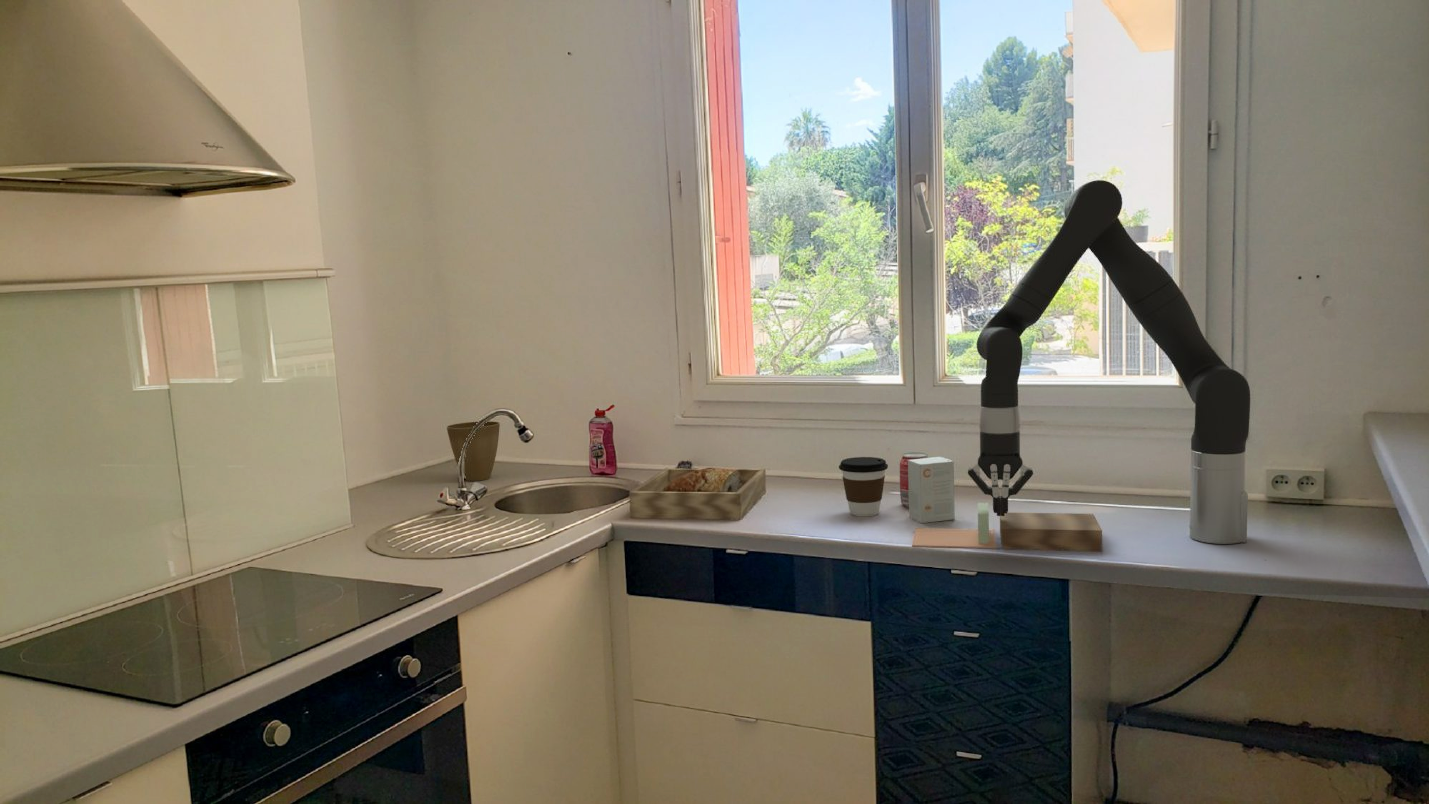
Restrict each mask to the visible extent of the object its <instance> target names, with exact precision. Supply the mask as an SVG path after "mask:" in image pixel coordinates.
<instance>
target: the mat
mask: <svg viewBox="0 0 1429 804" xmlns="http://www.w3.org/2000/svg"><path fill="white" fill-rule="evenodd" d="M912 539H913V540H912V544H911V547H912V548H913V547H914V548H915V547H916V548H948V549H949V548H951V549H952V548H953V549H955V548H957V549H994V550H995V549H996V550H997V537H996V530H995V529H989V544H978V529H970V528H969V529H965V528H963V529H961V528H915V529H914V534H913V538H912Z"/></svg>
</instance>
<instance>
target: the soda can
mask: <svg viewBox="0 0 1429 804" xmlns="http://www.w3.org/2000/svg"><path fill="white" fill-rule="evenodd" d="M922 458H929V457H928V453H926V452H919V451H918V452H914V451H913V452H911V451H910V452H905V453H902V457H901V459H900V460H899V493H900V494H899V498H900V503H901V504H902V505H903V506H904V507H906V508H909V484H908V460H912V459H922Z"/></svg>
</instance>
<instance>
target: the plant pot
mask: <svg viewBox="0 0 1429 804" xmlns="http://www.w3.org/2000/svg"><path fill="white" fill-rule="evenodd" d="M478 422H479V421H469V422H467V421H466V422H459V423H454V424H450V425H447V426H446V431H447V435H448V439H449V443H450V444H449V445H450V447H451V451H452V454H453V457H454V459H455V462H456V465H457V466H458V462H459V458H460V456H461V451H462V448H463V445H464V443H465V442H466V438H468V435H469V434H470V433H471V431H472V429H473V426H475V425H476V423H478ZM500 425H501V423H500V422H498V421H494V420H493V421H492V420H491V421H488V422H487V423H485V424H484V426H482V427H481V428H479V430H478V431H477V432H476V434H475V436H473V439H472V440H471V443H469V446H468V448H467V451H466V457H465V476H466V480H465V481H466V482H475V481H476V482H477V481H479V482H480V481H485V480H489V479H490V478H491V476H492V473H493V470H494V466H495V461H496V457H497V451H498V446H499V445H498V444H499V437H500V427H501V426H500Z"/></svg>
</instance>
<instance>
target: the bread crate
mask: <svg viewBox="0 0 1429 804" xmlns="http://www.w3.org/2000/svg"><path fill="white" fill-rule="evenodd" d="M700 469H701V468H664V469H663V470H661V471H660V472H658V473H657V474H655V475H653V476H652V477H650V478H649V479H647V480H646V481H644V482H643V483H641V484H640V485H638V486H637V487H635V488H634V489H632V490H630V491H629V492H628V496H629V511H630V512H629V513H630V518H631V519H632V518H633V519H684V520H685V519H686V520H689V519H690V520H729V519H730V520H731V519H733V520H734V519H736V521H737V520H739V519H740V520H739V521H741V520H742V519H743V518H745V516H747V514H748V513H749V512H750V511H751V510H752V509H753V508H754V507H755V505H756V504H757V503H758V502H759V501H760V500H761V499H762V498H763V497H764V495H766V494H767V478H766V474H767V473H766V468H732V469H733V470H737V471H739V472H740V475H741V481H740V483H741V485H742V487H741V488H740V489H739V490H738V491H737V492H660V491H661V490H662V489H663V488H664V487H665V486H666V485H667V484H668V483H669V482H671V481H673V480H674V479H676V478H678V477H680V476H682V475H684V474H686V473H689V472H693V471H697V470H700ZM733 520H731V521H733Z"/></svg>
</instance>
